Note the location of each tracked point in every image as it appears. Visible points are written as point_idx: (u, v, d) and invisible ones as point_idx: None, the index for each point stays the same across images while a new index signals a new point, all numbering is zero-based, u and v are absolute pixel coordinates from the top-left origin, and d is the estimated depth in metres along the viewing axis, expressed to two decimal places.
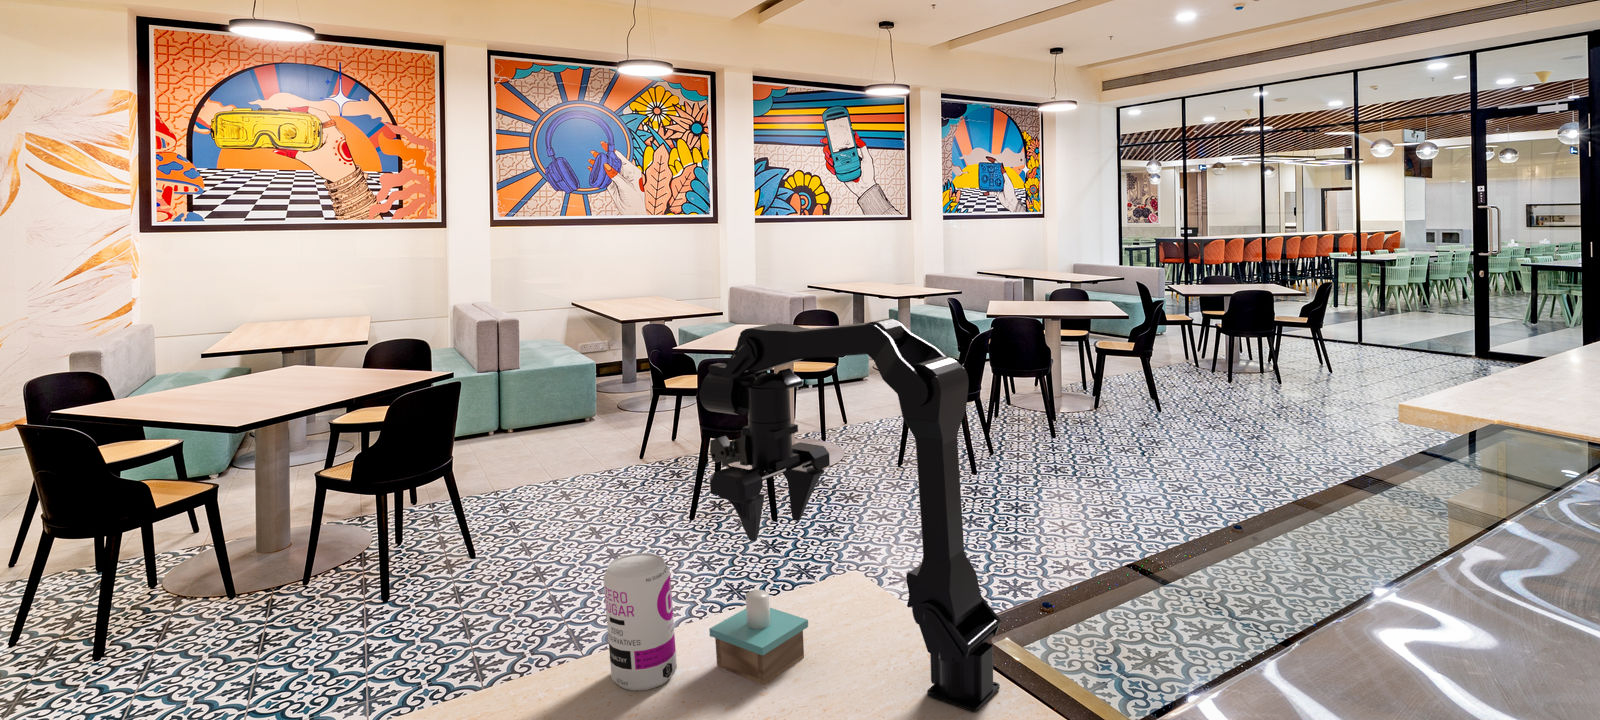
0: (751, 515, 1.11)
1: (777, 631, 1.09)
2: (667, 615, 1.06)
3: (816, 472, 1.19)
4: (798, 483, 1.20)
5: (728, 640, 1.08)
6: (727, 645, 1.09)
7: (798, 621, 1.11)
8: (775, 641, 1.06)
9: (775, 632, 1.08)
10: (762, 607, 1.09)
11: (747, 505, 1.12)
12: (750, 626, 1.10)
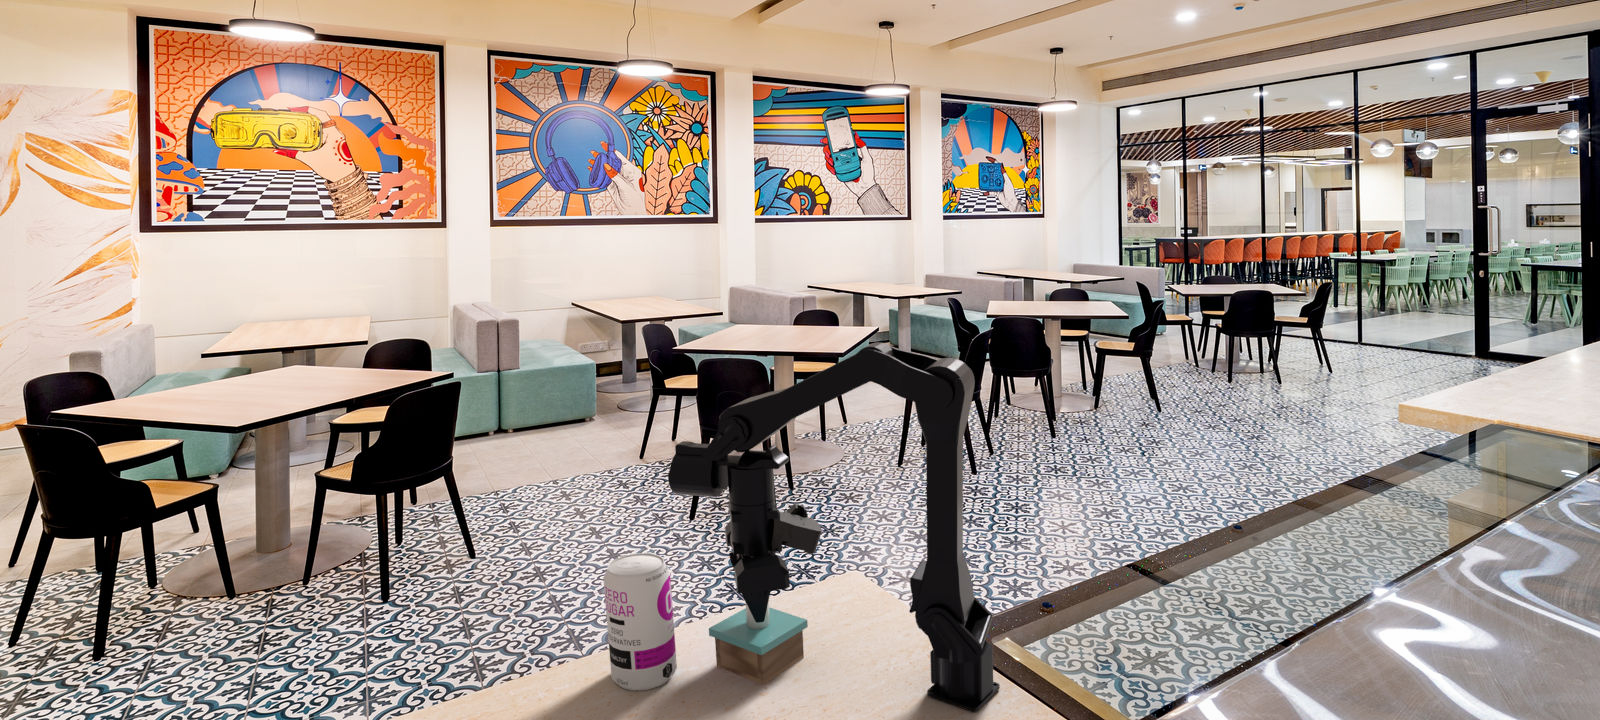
0: None
1: (776, 631, 1.08)
2: (667, 615, 1.06)
3: None
4: None
5: (727, 640, 1.08)
6: (727, 645, 1.09)
7: (797, 621, 1.11)
8: (774, 640, 1.06)
9: (774, 632, 1.08)
10: None
11: None
12: (749, 626, 1.10)
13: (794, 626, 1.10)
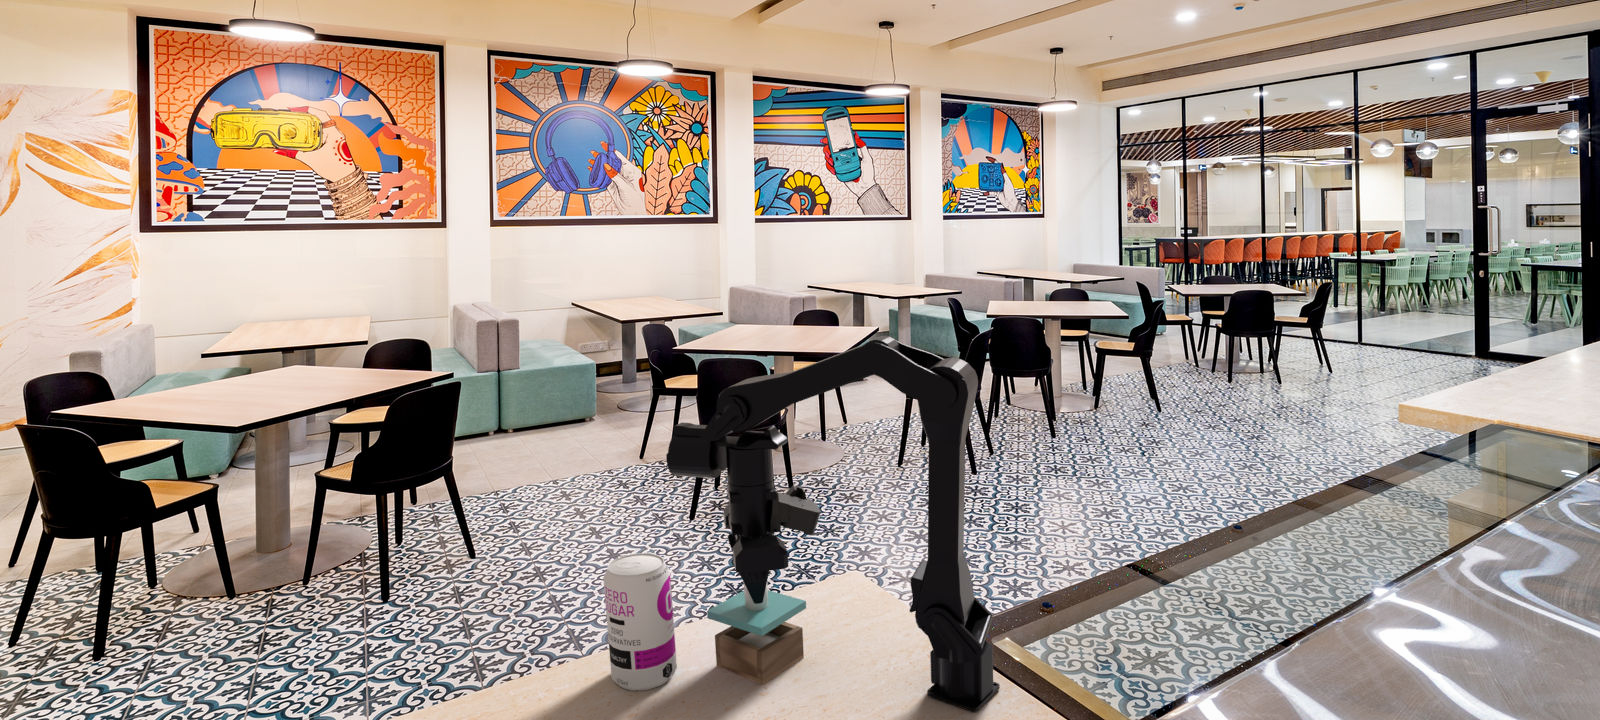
0: None
1: (775, 612, 1.08)
2: (667, 615, 1.06)
3: None
4: None
5: (726, 622, 1.08)
6: (726, 645, 1.09)
7: (796, 602, 1.11)
8: (773, 621, 1.06)
9: (773, 613, 1.08)
10: None
11: None
12: (748, 608, 1.09)
13: (793, 607, 1.09)
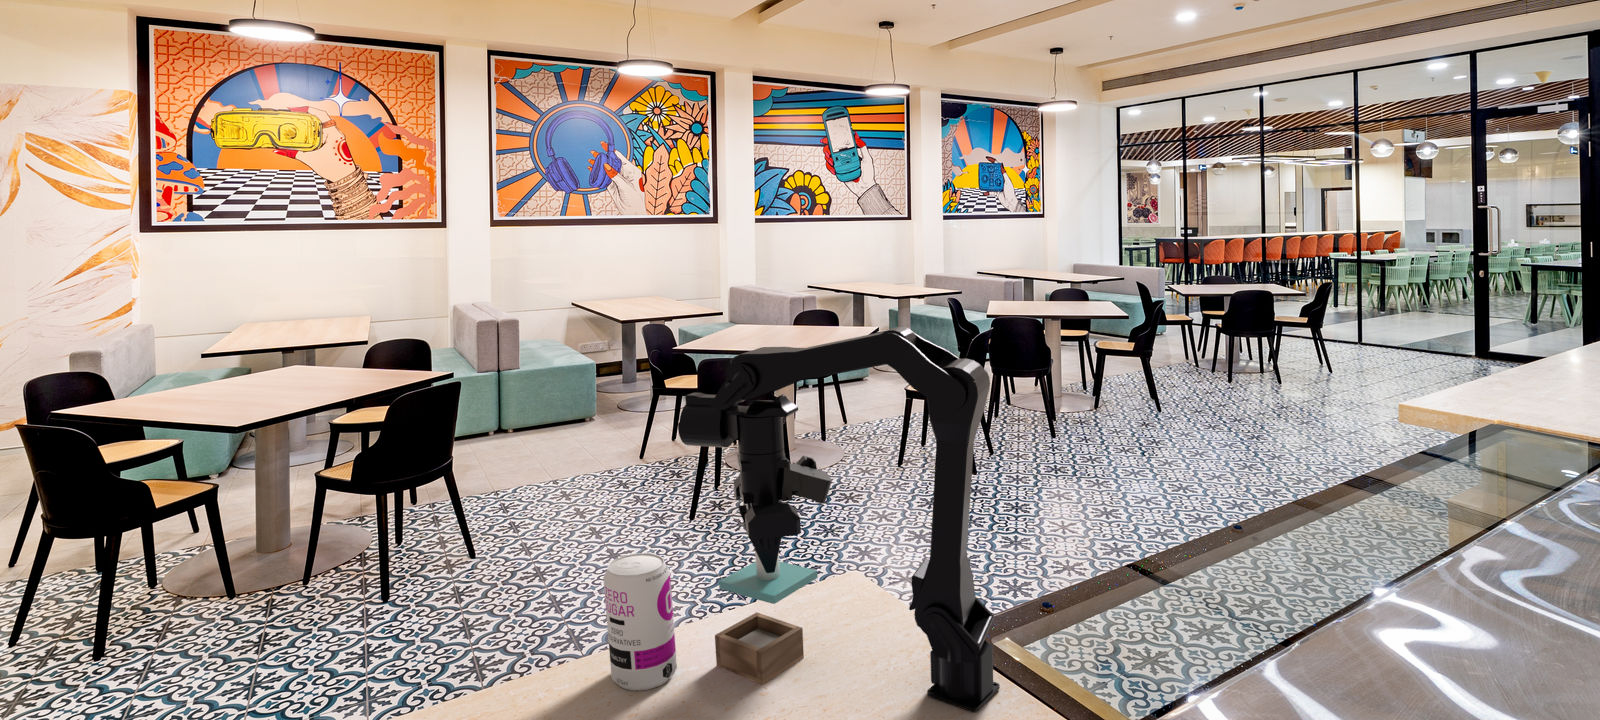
0: None
1: (787, 581, 1.08)
2: (667, 615, 1.06)
3: None
4: None
5: (738, 591, 1.07)
6: (726, 644, 1.09)
7: (808, 572, 1.11)
8: (786, 589, 1.06)
9: (785, 582, 1.08)
10: None
11: None
12: (760, 577, 1.09)
13: (805, 576, 1.09)
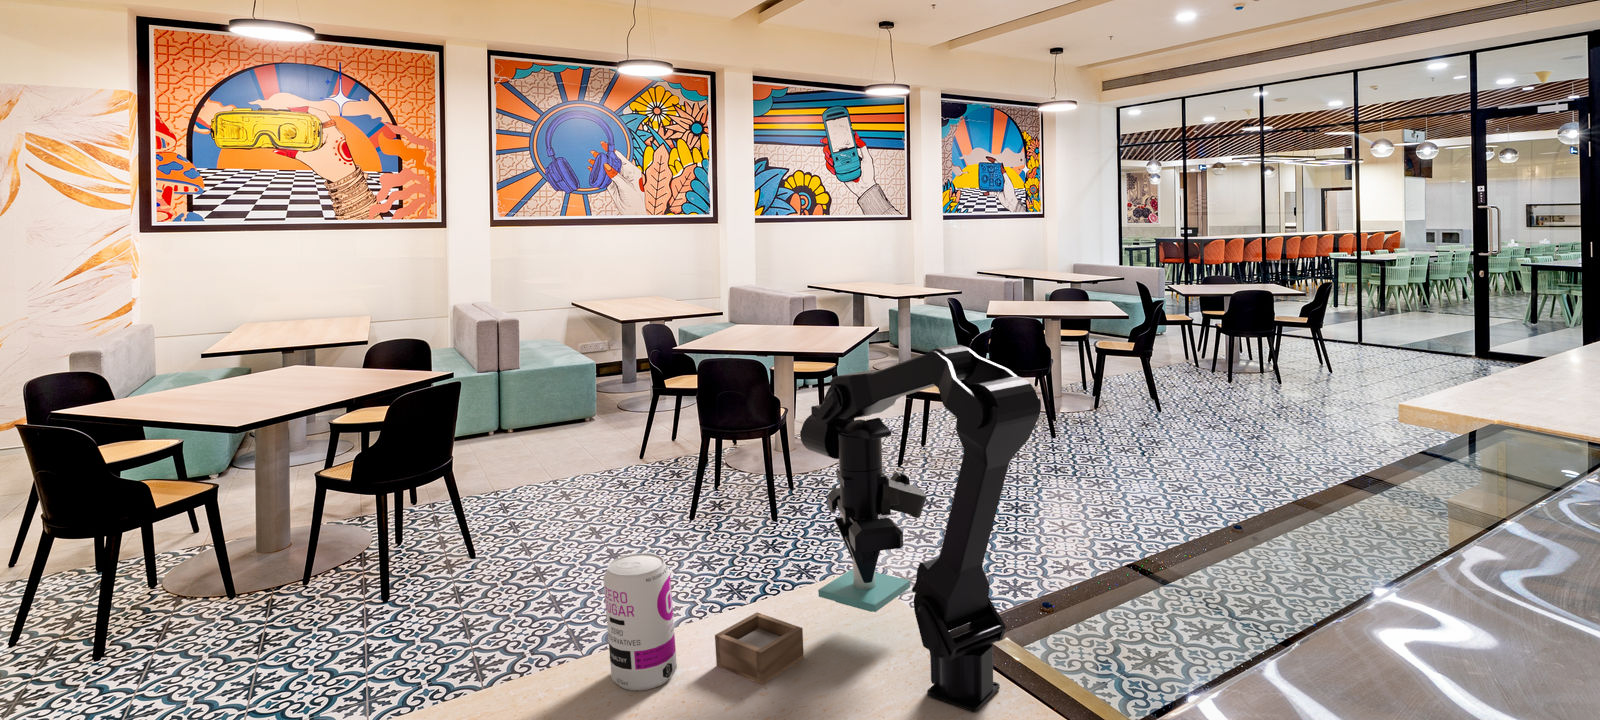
0: None
1: (884, 590, 1.15)
2: (667, 615, 1.06)
3: (849, 539, 1.12)
4: None
5: (838, 599, 1.14)
6: (726, 644, 1.09)
7: (901, 582, 1.17)
8: (884, 599, 1.12)
9: (882, 591, 1.14)
10: None
11: None
12: (857, 586, 1.16)
13: (900, 586, 1.16)
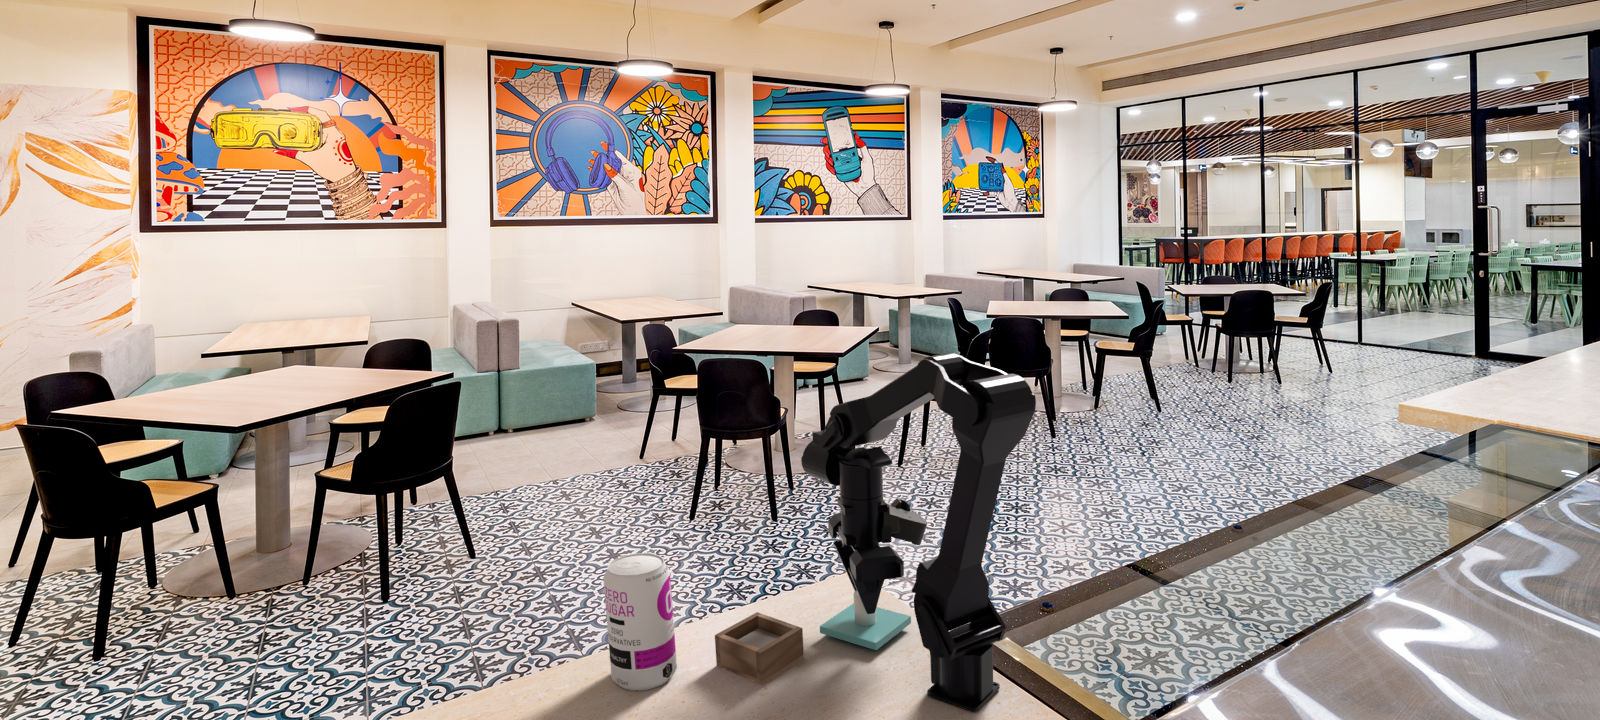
0: None
1: (885, 627, 1.15)
2: (667, 615, 1.06)
3: None
4: None
5: (840, 636, 1.15)
6: (726, 644, 1.09)
7: (902, 618, 1.18)
8: (885, 636, 1.13)
9: (883, 628, 1.15)
10: None
11: None
12: (858, 623, 1.16)
13: (900, 622, 1.17)
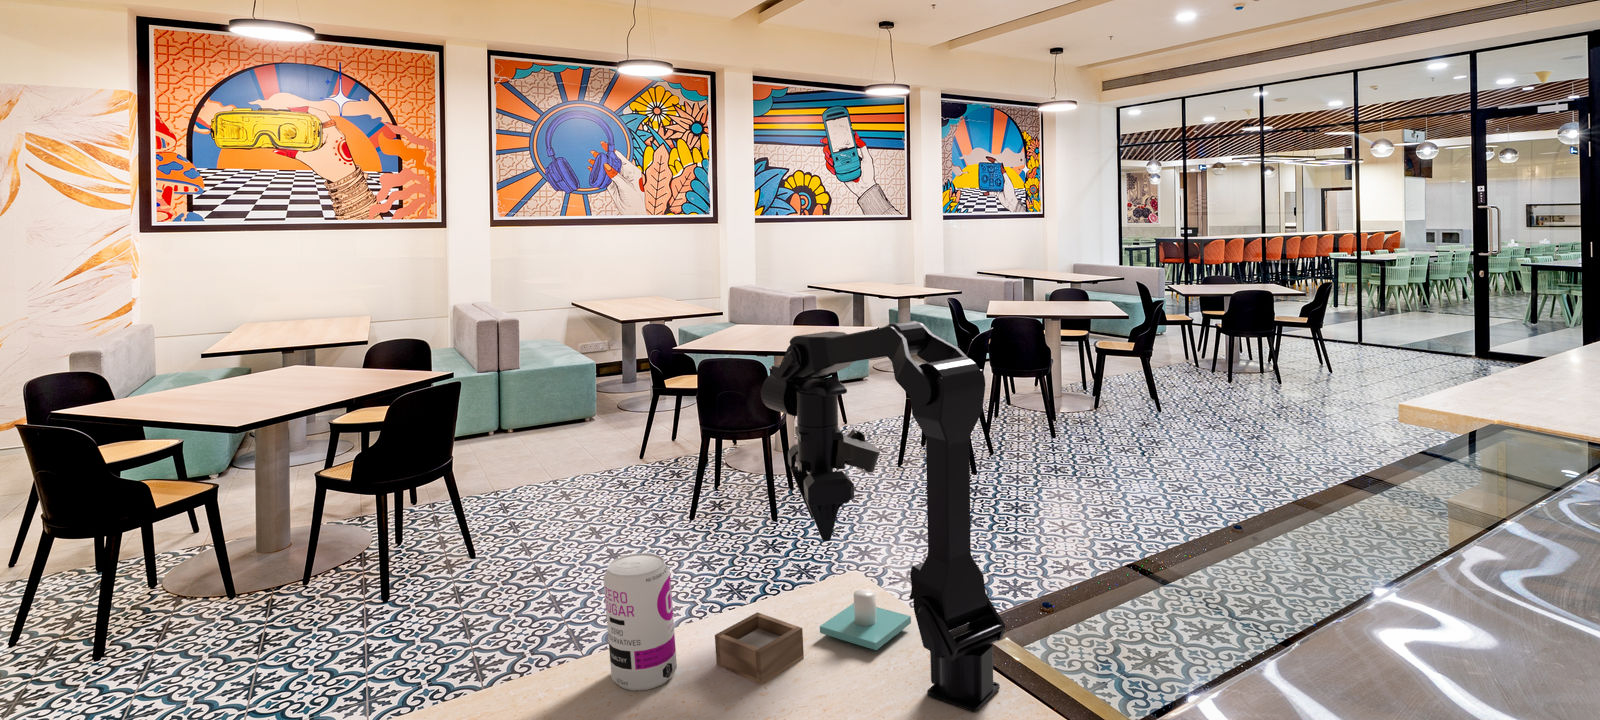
0: None
1: (885, 627, 1.15)
2: (667, 615, 1.06)
3: None
4: None
5: (840, 636, 1.15)
6: (726, 644, 1.09)
7: (902, 618, 1.18)
8: (885, 636, 1.13)
9: (883, 628, 1.15)
10: (871, 604, 1.16)
11: None
12: (858, 623, 1.16)
13: (900, 622, 1.17)
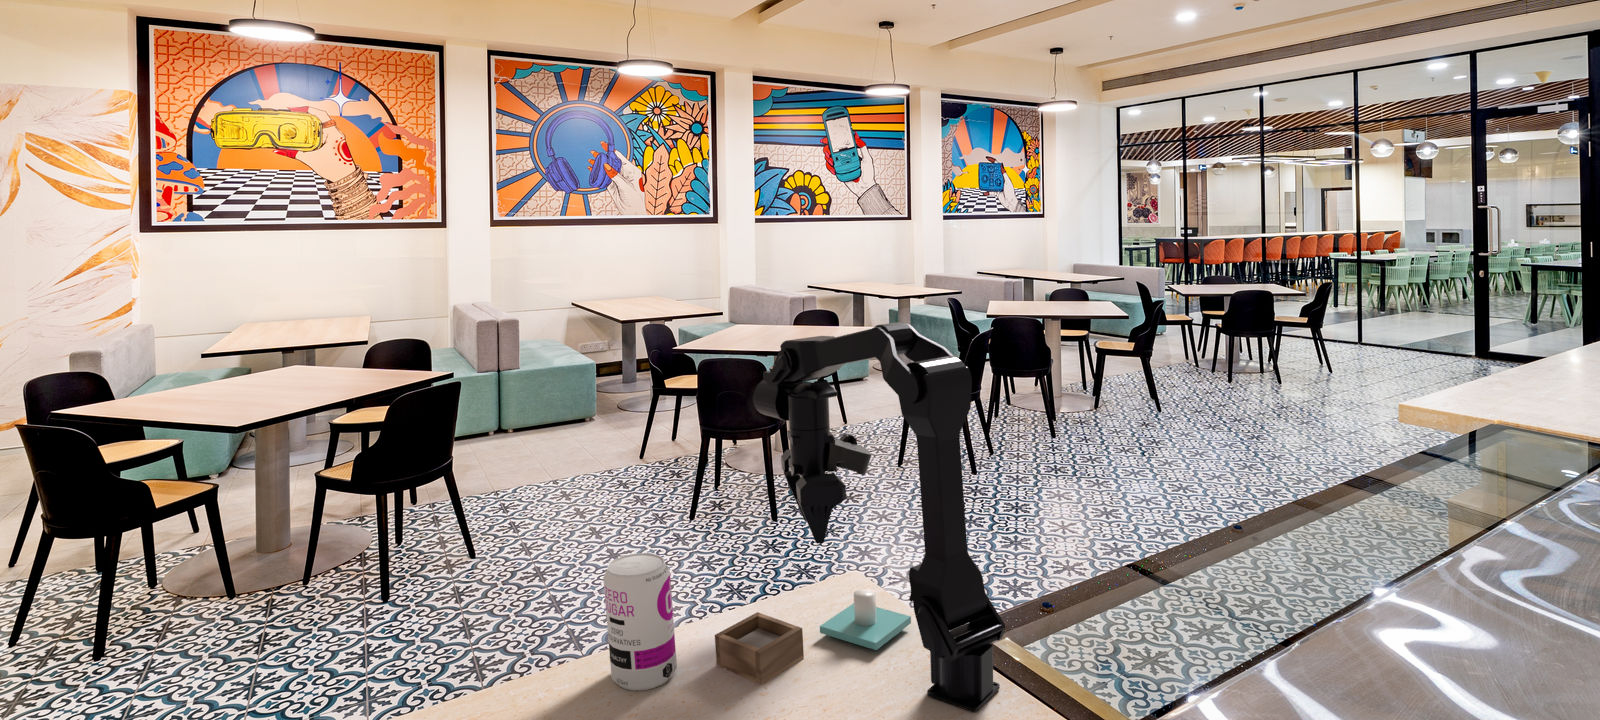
0: None
1: (885, 627, 1.15)
2: (667, 615, 1.06)
3: None
4: None
5: (840, 636, 1.15)
6: (726, 644, 1.09)
7: (902, 618, 1.18)
8: (885, 636, 1.13)
9: (883, 628, 1.15)
10: (871, 604, 1.16)
11: None
12: (858, 623, 1.16)
13: (900, 622, 1.17)
